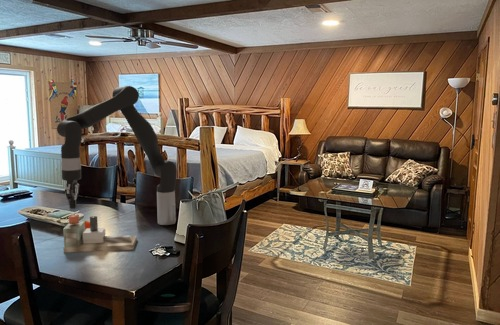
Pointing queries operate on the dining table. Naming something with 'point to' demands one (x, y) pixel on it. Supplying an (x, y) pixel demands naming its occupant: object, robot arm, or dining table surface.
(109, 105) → the robot arm
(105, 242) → the rail base
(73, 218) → the button
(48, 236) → the dining table surface
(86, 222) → the clementine
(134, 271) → the dining table surface
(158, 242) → the dining table surface
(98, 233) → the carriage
